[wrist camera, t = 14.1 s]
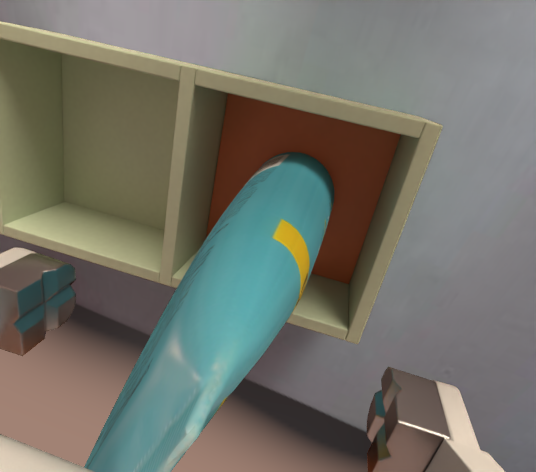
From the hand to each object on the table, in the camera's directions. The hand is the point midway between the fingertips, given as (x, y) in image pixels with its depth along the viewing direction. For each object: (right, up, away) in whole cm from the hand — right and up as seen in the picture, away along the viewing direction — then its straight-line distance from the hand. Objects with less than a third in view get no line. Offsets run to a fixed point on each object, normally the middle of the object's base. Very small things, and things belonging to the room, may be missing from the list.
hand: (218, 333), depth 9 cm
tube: (+3, +5, +13) cm, 14 cm away
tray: (-2, +7, +14) cm, 16 cm away
